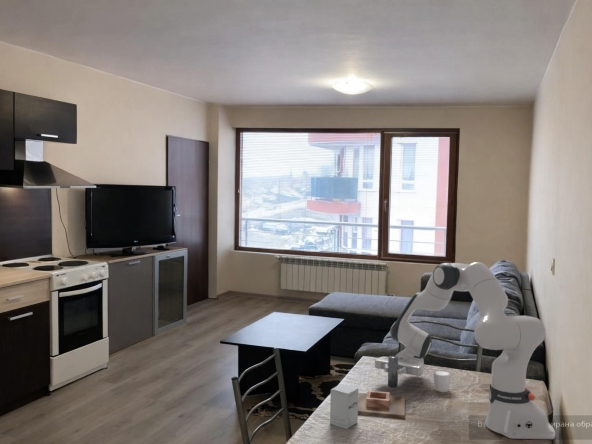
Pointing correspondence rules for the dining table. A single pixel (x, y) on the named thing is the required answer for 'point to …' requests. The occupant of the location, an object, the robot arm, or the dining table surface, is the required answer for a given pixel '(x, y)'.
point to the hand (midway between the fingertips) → (392, 371)
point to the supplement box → (344, 406)
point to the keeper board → (381, 404)
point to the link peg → (392, 372)
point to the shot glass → (441, 381)
